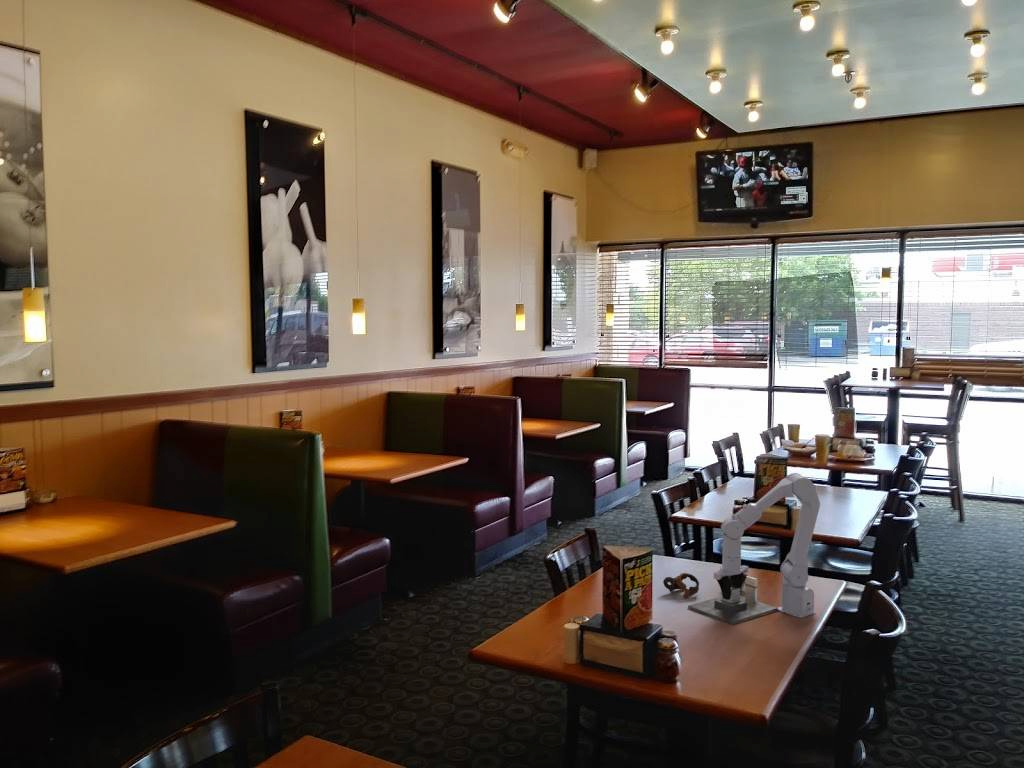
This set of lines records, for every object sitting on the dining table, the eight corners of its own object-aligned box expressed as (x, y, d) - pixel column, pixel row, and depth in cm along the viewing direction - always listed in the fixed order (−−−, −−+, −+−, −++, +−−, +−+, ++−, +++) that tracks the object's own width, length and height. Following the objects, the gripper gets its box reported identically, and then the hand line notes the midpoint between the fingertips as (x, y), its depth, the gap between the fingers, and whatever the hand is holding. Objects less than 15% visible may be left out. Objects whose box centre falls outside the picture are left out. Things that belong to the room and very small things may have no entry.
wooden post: (739, 606, 264) (740, 588, 263) (731, 609, 262) (731, 590, 261) (729, 603, 267) (730, 584, 267) (721, 605, 265) (721, 587, 264)
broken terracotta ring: (691, 590, 287) (699, 573, 282) (694, 610, 278) (703, 593, 274) (658, 582, 286) (666, 565, 282) (660, 602, 278) (669, 584, 274)
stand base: (777, 611, 264) (778, 583, 263) (732, 624, 251) (732, 596, 251) (733, 596, 279) (733, 570, 278) (688, 608, 266) (688, 581, 266)
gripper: (736, 549, 271) (735, 590, 272) (706, 556, 262) (705, 598, 263) (754, 554, 265) (753, 595, 266) (723, 561, 257) (723, 604, 258)
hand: (730, 597), depth 264 cm, fingers closed on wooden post, 4 cm apart
